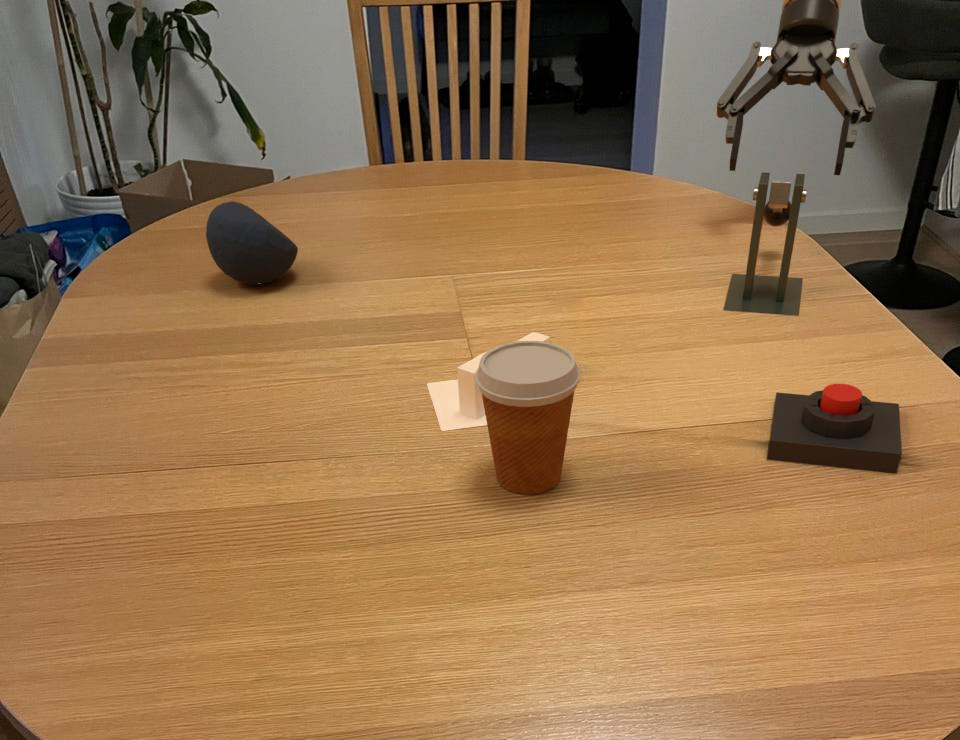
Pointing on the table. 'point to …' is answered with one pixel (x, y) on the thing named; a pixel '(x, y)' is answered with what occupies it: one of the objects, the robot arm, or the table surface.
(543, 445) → the disposable coffee cup
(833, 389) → the button
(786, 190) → the lever
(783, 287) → the bracket
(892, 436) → the button box
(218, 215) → the decorative stone
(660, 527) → the table surface
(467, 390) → the napkin holder
